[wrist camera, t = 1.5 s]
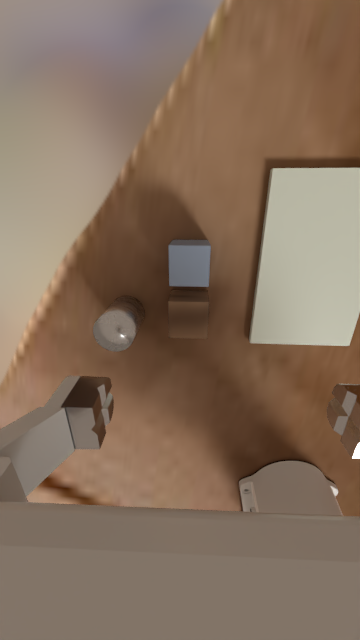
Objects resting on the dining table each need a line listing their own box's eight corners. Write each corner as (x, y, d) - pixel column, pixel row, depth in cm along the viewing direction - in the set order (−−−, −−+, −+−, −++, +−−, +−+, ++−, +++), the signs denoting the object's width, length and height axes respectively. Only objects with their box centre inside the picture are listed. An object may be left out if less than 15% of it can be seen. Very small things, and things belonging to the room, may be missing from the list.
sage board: (345, 342, 37) (349, 345, 36) (248, 339, 37) (250, 343, 36) (397, 169, 28) (404, 167, 27) (270, 169, 29) (272, 168, 28)
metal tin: (145, 328, 37) (135, 352, 31) (112, 327, 38) (95, 350, 31) (143, 296, 36) (132, 314, 29) (109, 295, 36) (90, 313, 29)
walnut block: (205, 323, 37) (207, 339, 32) (172, 322, 37) (168, 338, 32) (207, 290, 35) (209, 302, 30) (171, 289, 35) (168, 301, 30)
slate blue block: (206, 274, 34) (208, 286, 28) (173, 274, 34) (169, 286, 29) (207, 239, 32) (210, 245, 27) (172, 239, 32) (168, 245, 27)
